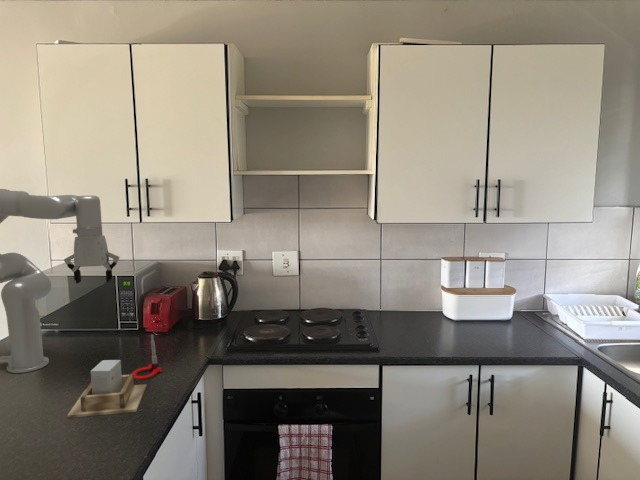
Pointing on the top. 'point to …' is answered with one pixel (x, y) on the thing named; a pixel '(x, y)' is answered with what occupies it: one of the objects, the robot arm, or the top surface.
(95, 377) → the small box
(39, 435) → the top surface
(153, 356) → the tow hook
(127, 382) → the well
